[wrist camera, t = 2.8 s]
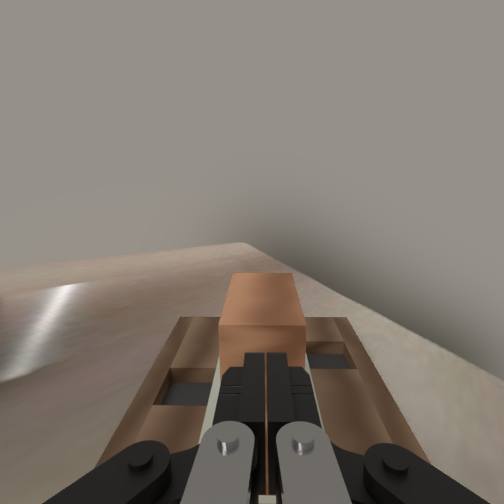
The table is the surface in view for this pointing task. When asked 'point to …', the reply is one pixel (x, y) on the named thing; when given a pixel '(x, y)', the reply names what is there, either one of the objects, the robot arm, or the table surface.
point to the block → (261, 323)
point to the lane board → (208, 384)
